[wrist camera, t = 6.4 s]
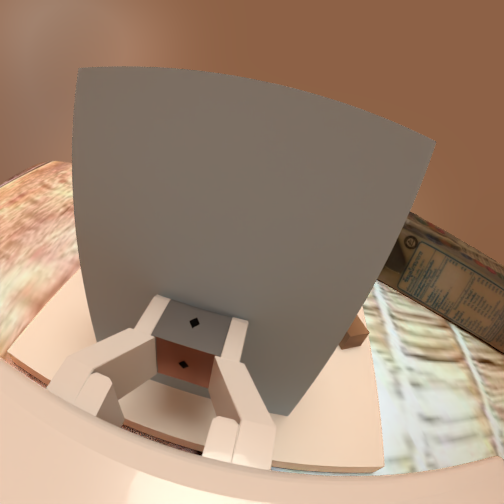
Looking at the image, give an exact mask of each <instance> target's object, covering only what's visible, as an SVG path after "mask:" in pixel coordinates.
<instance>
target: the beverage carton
mask: <svg viewBox="0 0 504 504" xmlns="http://www.w3.org/2000/svg"><path fill="white" fill-rule="evenodd" d="M377 279H378V280H380V281H382V282H384V283H385V284H387V285H389V286H391V287H392V288H394V289H396V290H397V291H399V292H401V293H402V294H404V295H406V296H408V297H409V298H411V299H413V300H414V301H416V302H418V303H420V304H422V305H424V306H425V307H427V308H429V309H430V310H432V311H434V312H435V313H437V314H439V315H441V316H443V317H444V318H446V319H448V320H449V321H451V322H453V323H455V324H456V325H458V326H460V327H462V328H464V329H465V330H467V331H469V332H471V333H472V334H474V335H475V336H477V337H479V338H480V339H482V340H483V341H485V342H487V343H488V344H490V345H491V346H493V347H495V348H496V349H498V350H499V351H501V352H502V353H504V266H503V265H501V264H499V263H497V262H496V261H495V260H493V259H491V258H489V257H488V256H486V255H485V254H483V253H481V252H480V251H478V250H477V249H475V248H474V247H472V246H470V245H468V244H467V243H465V242H463V241H461V240H460V239H458V238H456V237H455V236H453V235H451V234H450V233H448V232H446V231H444V230H442V229H441V228H439V227H437V226H435V225H433V224H432V223H429V222H428V221H426V220H424V219H422V218H421V217H419V216H418V215H416V214H414V213H412V212H409V214H408V216H407V219H406V221H405V223H404V225H403V227H402V230H401V232H400V234H399V236H398V238H397V240H396V242H395V245H394V247H393V249H392V251H391V253H390V255H389V257H388V259H387V261H386V263H385V265H384V267H383V269H382V270H381V272H380V274H379V276H378V278H377Z"/></svg>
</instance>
